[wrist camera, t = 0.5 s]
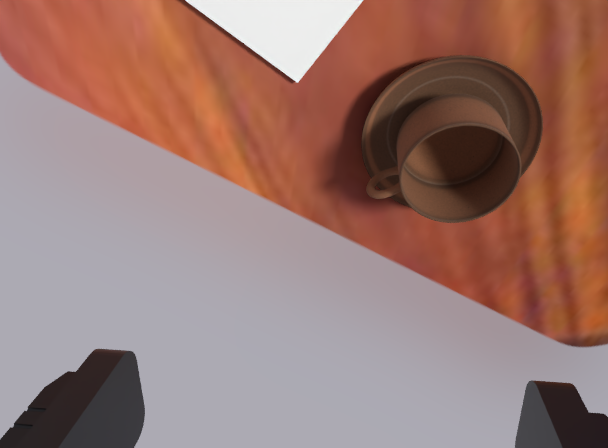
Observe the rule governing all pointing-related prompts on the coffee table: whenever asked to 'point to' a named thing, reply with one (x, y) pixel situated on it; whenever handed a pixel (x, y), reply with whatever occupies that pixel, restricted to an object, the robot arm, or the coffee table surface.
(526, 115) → the cup and saucer
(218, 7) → the mat
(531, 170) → the coffee table surface
